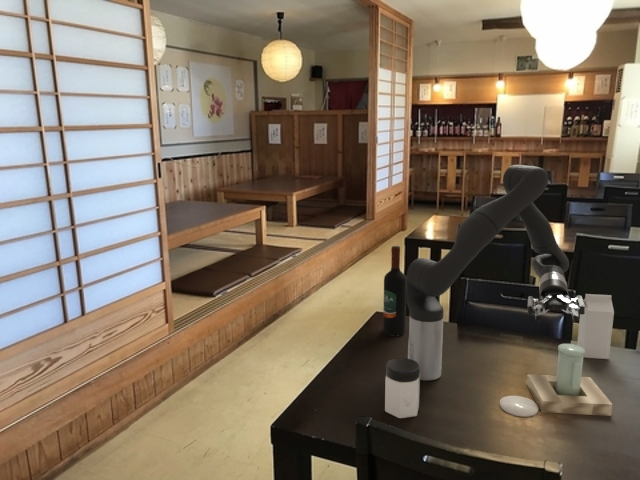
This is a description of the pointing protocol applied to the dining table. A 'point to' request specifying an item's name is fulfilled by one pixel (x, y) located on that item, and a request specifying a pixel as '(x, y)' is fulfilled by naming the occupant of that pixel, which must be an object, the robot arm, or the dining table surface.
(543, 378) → the wooden square frame
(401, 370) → the jar
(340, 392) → the dining table surface
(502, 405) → the saucer
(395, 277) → the wine bottle
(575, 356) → the mint green tumbler
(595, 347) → the milk carton
